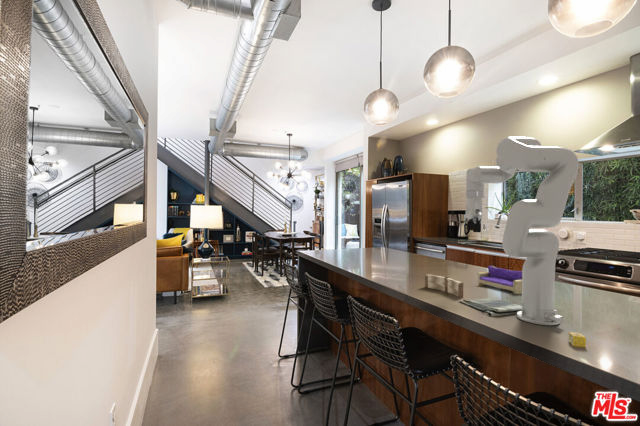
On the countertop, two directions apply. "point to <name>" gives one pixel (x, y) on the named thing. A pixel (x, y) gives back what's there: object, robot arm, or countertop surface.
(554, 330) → the countertop surface
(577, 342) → the alphabet block
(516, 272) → the toy sofa
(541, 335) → the countertop surface
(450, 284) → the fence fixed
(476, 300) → the dish towel
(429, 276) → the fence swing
